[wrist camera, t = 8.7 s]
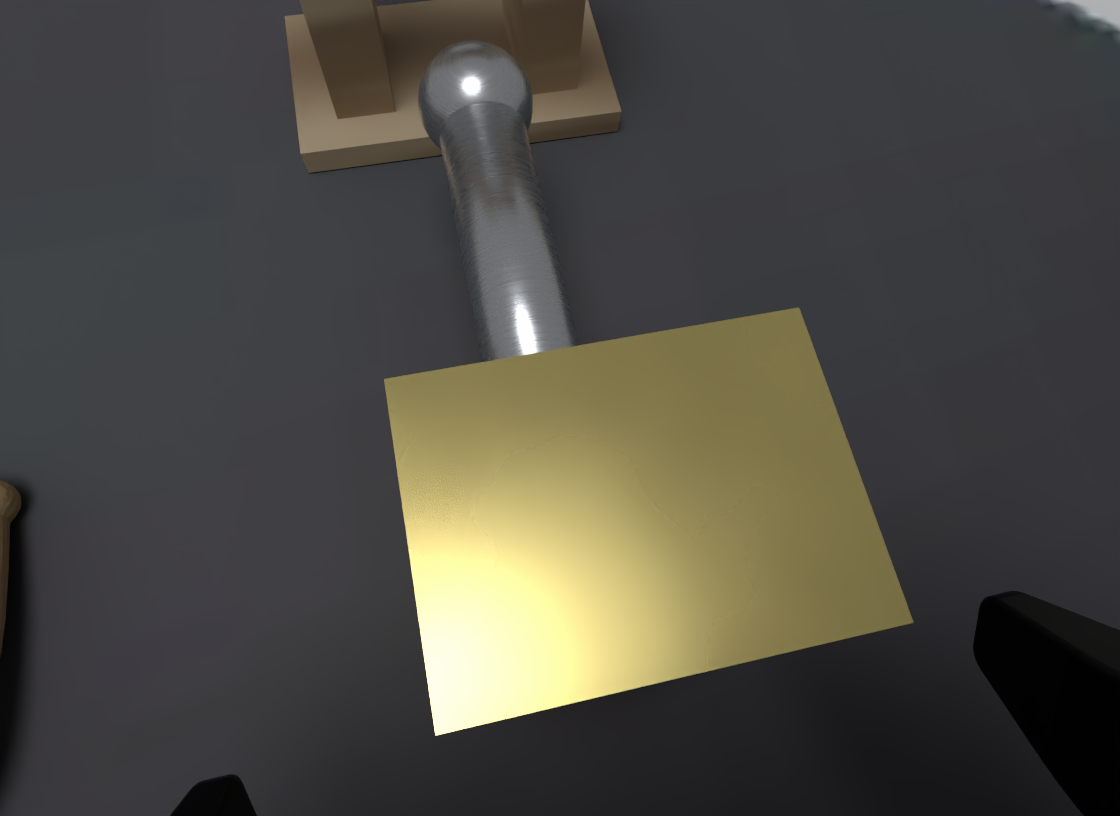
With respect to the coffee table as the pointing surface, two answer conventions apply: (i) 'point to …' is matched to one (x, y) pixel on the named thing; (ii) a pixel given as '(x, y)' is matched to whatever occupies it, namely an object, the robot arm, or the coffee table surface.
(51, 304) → the coffee table surface
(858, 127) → the coffee table surface
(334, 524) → the coffee table surface
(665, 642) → the olive block with rod
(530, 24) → the eye post
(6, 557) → the smoking pipe
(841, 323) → the coffee table surface
